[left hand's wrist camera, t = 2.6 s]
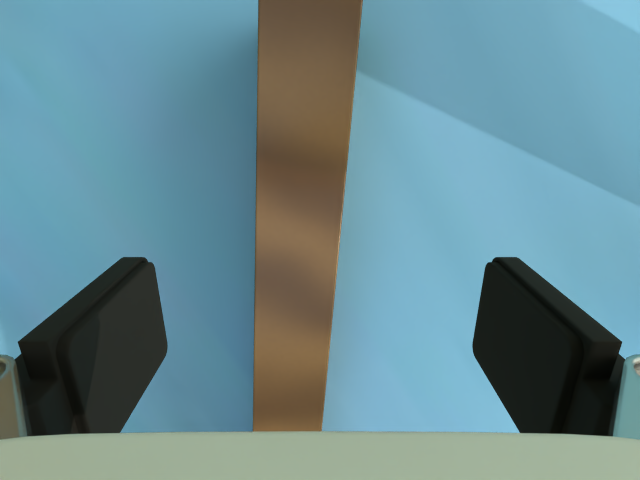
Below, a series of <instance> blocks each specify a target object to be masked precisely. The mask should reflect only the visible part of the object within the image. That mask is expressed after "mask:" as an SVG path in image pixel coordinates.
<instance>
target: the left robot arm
mask: <svg viewBox="0 0 640 480" xmlns="http://www.w3.org/2000/svg"><path fill="white" fill-rule="evenodd" d="M18 344H19V347H20V350H21V353H22V354H21V355H19V356H18V357H17V358H16V359H15V360H14V358H13V357H10V356H8V355H0V480H640V355H632V356H630V357H627V358H626V360H625V359H624V358H623V357H622V356H621V355H619V354H618V353H619V350H620V347H621V344H622V341H620V340H619V339H618V338H617V337H615V336H614V335H613V334H612V333H610V332H609V331H608V330H607V329H605V328H604V327H603V326H602V325H601V324H599V323H598V322H597V321H596V320H594V319H593V318H592V317H591V316H589V315H588V314H587V313H586V312H584V311H583V310H582V309H581V308H580V307H578V306H577V305H576V304H575V303H573V302H572V301H571V300H570V299H568V298H567V297H566V296H565V295H563V294H562V293H561V292H560V291H559V290H557V289H556V288H555V287H554V286H552V285H551V284H550V283H549V282H547V281H546V280H545V279H544V278H542V277H541V276H540V275H539V274H538V273H536V272H535V271H534V270H533V269H531V268H530V267H529V266H528V265H526V264H525V263H524V262H523V261H521V260H520V259H519V258H517V257H496V258H494V259H493V261H492V262H489V263H487V265H486V267H485V272H484V278H483V284H482V290H481V296H480V302H479V308H478V314H477V320H476V326H475V332H474V338H473V353H474V356H475V358H476V360H477V361H478V363H479V365H480V366H481V368H482V370H483V371H484V373H485V375H486V376H487V378H488V380H489V381H490V383H491V385H492V386H493V388H494V390H495V391H496V393H497V395H498V396H499V398H500V400H501V401H502V403H503V405H504V407H505V408H506V410H507V412H508V413H509V415H510V417H511V418H512V420H513V422H514V423H515V425H516V427H517V428H518V430H519V432H520V433H489V432H363V431H277V432H151V433H120V432H121V430H122V428H123V427H124V425H125V423H126V422H127V420H128V418H129V417H130V415H131V413H132V412H133V410H134V408H135V407H136V405H137V403H138V401H139V400H140V398H141V396H142V395H143V393H144V391H145V390H146V388H147V386H148V385H149V383H150V381H151V380H152V378H153V376H154V375H155V373H156V371H157V370H158V368H159V366H160V365H161V363H162V361H163V360H164V358H165V356H166V353H167V338H166V332H165V326H164V320H163V314H162V308H161V302H160V296H159V290H158V284H157V278H156V272H155V267H154V265H153V263H151V262H148V261H147V259H146V258H144V257H123V258H121V259H120V260H119V261H117V262H116V263H115V264H114V265H112V266H111V267H110V268H109V269H107V270H106V271H105V272H104V273H102V274H101V275H100V276H99V277H98V278H96V279H95V280H94V281H93V282H91V283H90V284H89V285H88V286H86V287H85V288H84V289H83V290H81V291H80V292H79V293H78V294H77V295H75V296H74V297H73V298H72V299H70V300H69V301H68V302H67V303H65V304H64V305H63V306H62V307H60V308H59V309H58V310H57V311H56V312H54V313H53V314H52V315H51V316H49V317H48V318H47V319H46V320H44V321H43V322H42V323H41V324H39V325H38V326H37V327H36V328H35V329H33V330H32V331H31V332H30V333H28V334H27V335H26V336H25V337H23V338H22V339H21V340H20V341H18Z"/></svg>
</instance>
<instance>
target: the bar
mask: <svg viewBox="0 0 640 480" xmlns="http://www.w3.org/2000/svg"><path fill="white" fill-rule="evenodd" d="M362 4H363V0H258V74H257V151H256V228H255V305H254V382H253V432H277V431H322V422H323V411H324V401H325V390H326V380H327V369H328V359H329V348H330V338H331V328H332V317H333V307H334V296H335V286H336V275H337V265H338V254H339V244H340V234H341V223H342V213H343V202H344V192H345V181H346V171H347V160H348V150H349V140H350V129H351V119H352V108H353V98H354V87H355V77H356V66H357V56H358V46H359V35H360V25H361V14H362Z"/></svg>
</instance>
